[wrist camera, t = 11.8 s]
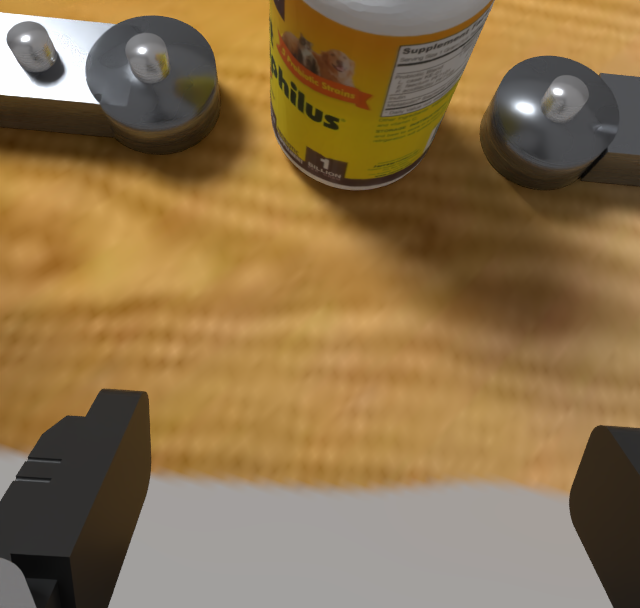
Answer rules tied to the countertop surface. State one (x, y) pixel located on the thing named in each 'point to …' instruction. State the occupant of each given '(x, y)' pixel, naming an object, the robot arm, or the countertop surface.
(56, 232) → the countertop surface
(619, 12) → the countertop surface
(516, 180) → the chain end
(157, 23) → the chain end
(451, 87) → the supplement bottle
